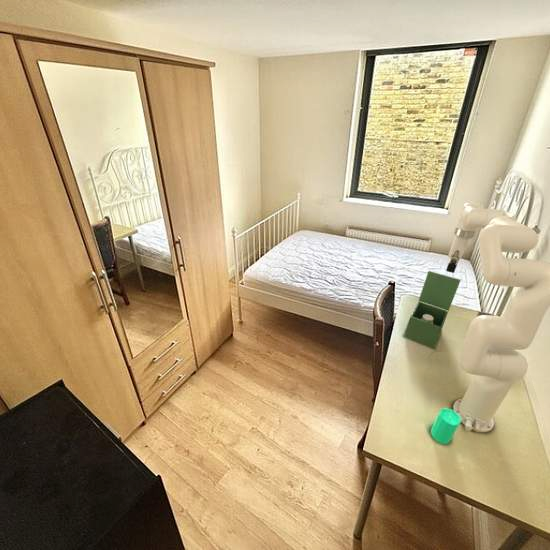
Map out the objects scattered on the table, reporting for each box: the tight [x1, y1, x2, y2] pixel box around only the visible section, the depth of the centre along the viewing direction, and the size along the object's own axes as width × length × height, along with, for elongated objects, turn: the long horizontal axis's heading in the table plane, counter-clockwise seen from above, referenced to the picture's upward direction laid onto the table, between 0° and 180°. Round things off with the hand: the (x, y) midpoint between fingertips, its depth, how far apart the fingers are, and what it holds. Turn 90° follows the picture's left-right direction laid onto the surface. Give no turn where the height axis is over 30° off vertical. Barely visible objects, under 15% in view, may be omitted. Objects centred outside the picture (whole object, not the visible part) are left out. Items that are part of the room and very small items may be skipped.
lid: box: [418, 270, 462, 312], centre depth 139 cm, size 16×14×1 cm
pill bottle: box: [421, 314, 434, 324], centre depth 140 cm, size 6×6×10 cm
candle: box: [430, 407, 462, 445], centre depth 96 cm, size 6×6×12 cm
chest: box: [403, 300, 449, 350], centre depth 140 cm, size 16×14×12 cm
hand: (451, 267), depth 133 cm, fingers open, 9 cm apart
